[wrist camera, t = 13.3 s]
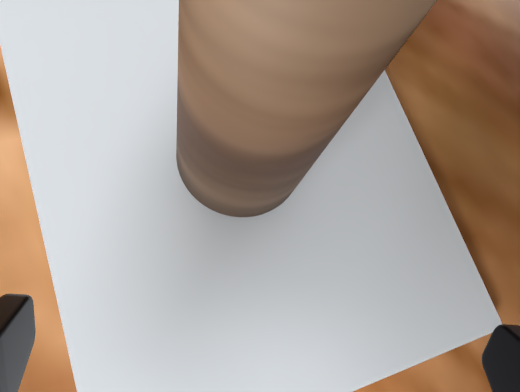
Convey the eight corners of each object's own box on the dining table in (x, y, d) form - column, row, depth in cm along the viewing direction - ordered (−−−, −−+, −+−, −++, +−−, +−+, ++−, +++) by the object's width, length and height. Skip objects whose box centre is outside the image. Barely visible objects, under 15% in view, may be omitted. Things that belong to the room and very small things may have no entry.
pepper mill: (271, 239, 18) (564, -90, 5) (152, 181, 18) (90, -335, 4) (318, 134, 20) (624, -318, 6) (211, 81, 20) (293, -494, 6)
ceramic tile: (488, 328, 19) (504, 327, 18) (105, 489, 15) (100, 497, 14) (320, -41, 24) (325, -57, 23) (-4, 5, 20) (-13, -12, 19)
